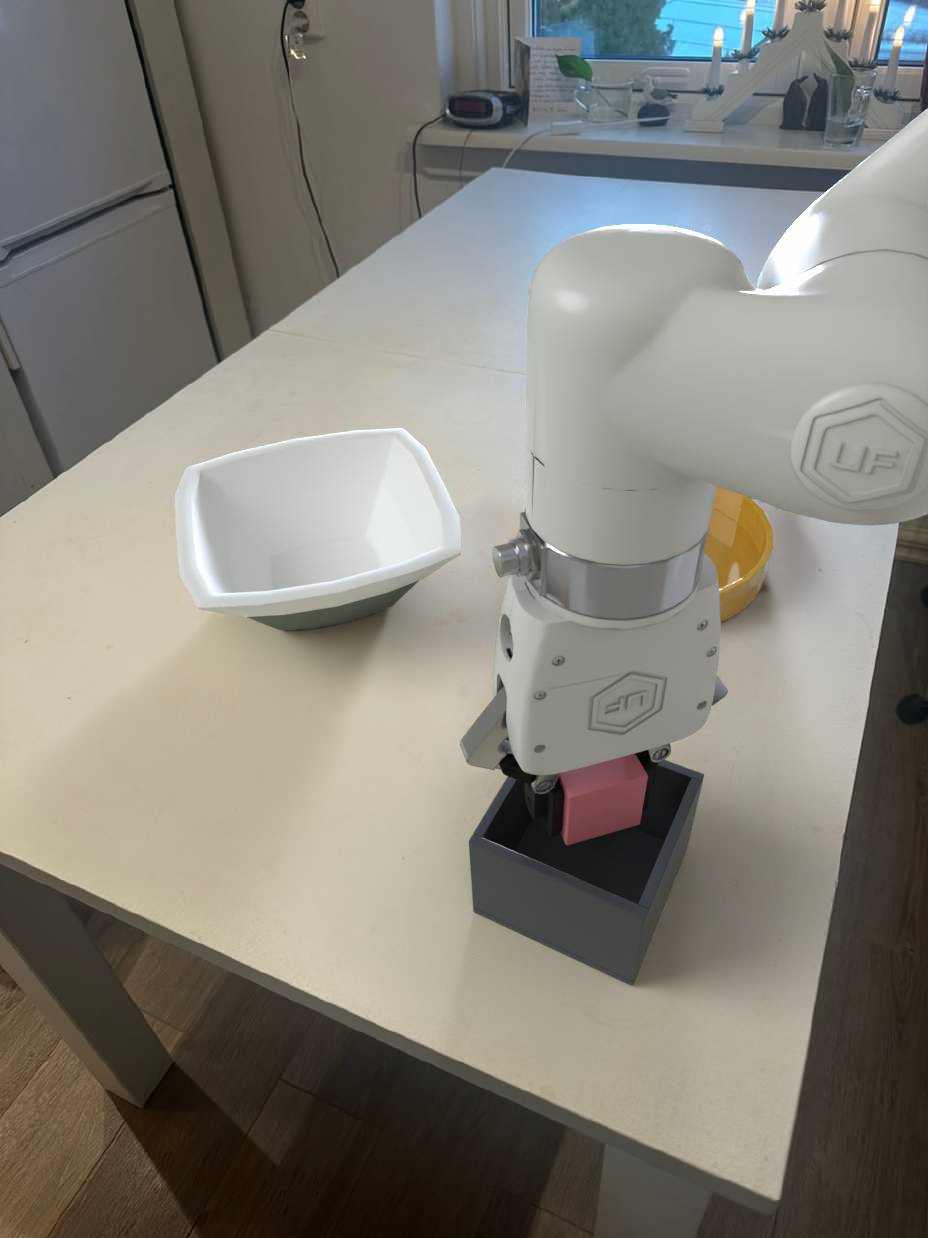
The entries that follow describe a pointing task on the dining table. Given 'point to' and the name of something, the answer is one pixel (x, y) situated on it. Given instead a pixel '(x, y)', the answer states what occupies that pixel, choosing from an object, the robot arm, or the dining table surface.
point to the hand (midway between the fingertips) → (588, 801)
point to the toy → (602, 798)
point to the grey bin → (584, 874)
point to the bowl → (313, 528)
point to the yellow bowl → (738, 549)
